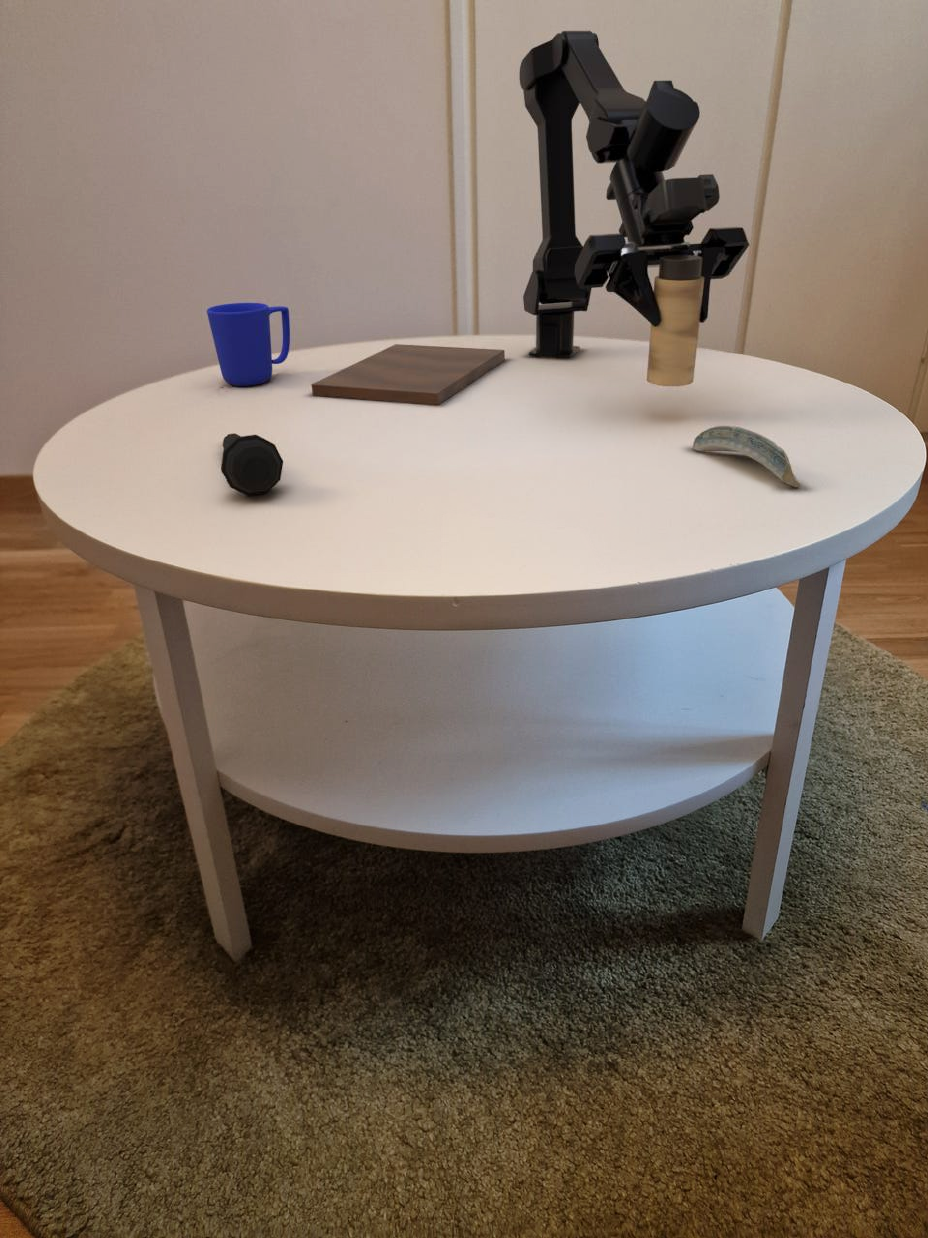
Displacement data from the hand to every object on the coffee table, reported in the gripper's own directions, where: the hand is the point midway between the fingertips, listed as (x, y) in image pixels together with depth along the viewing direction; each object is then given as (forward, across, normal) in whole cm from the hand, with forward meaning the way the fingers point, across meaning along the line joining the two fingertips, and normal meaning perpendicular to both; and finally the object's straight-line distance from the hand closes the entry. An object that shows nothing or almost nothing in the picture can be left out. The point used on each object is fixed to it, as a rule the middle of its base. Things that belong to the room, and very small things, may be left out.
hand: (681, 322), depth 93 cm
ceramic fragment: (+20, -1, -4) cm, 20 cm away
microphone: (+9, -48, +7) cm, 49 cm away
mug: (-19, -44, +36) cm, 60 cm away
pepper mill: (+4, 0, +6) cm, 7 cm away
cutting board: (-15, -23, +30) cm, 41 cm away
